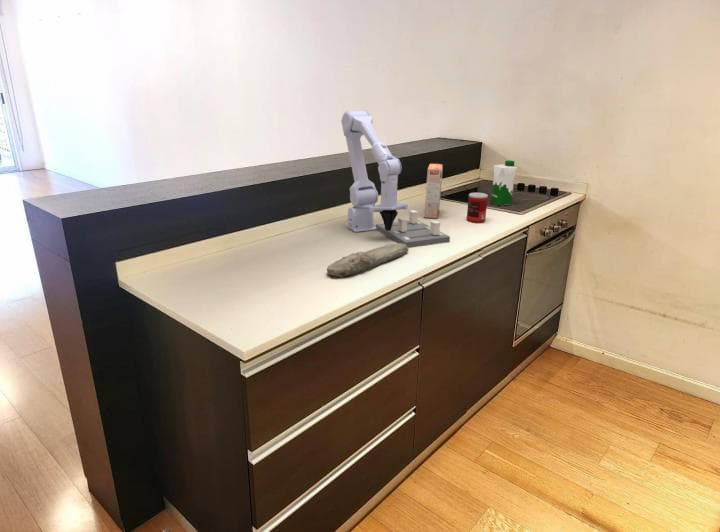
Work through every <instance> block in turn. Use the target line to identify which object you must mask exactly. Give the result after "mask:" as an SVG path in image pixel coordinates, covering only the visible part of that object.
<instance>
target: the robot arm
mask: <svg viewBox="0 0 720 532" xmlns="http://www.w3.org/2000/svg"><path fill="white" fill-rule="evenodd" d="M340 121H341V127H342V130H343V131H342V132H343V136H345V140H346V141H345V142H346V145H347V151H348V155H349V160H350V165H351V170H352V176H353V181H354V182H353V183H352V185H351V186H350V187H349V199H350V204H351V205H352V207H349V208H348V211H347V228H348V229H350V230H351V231H352V232H353V233H358V232H368V231H369V232H370V231H375V230H376V231H378V230H377V228H376V226H374V213H379V214H380V216H381V219H382V222H383V224H384V226H385V230H387V231H391V228H392V224H393V222H395V219H396V217H397V216H398V215H399V214H398V211H400V210H405V211H406V210H408V209H409V207H408V205H409V204H408V203H406V202H403V203H400V202H399V203H398V182H399V181H398V179H399V174H401V173H402V166H403V165H402V163H401V161H400V159H399V158H397V157H396V156H394V155H393V154H392V153H391V151H390V149H389V148H388V146H387V144H386V143H385V142H384V141H381V140H380V138H379V136H378V133H377V132H376V130H375V128H374V125H373V117H372V115H371V113H370V112H369V111H368V110H361V111H360V110H359V111H349V110H348V111H344V113H343V114H342V117H341V120H340ZM362 136H364V137H365V139H366V140H367V142H368V143H369V145H371V149H370V152H371V154H372V155H373V158H374V159H375V161H376V162H377V164H378V166H377V169H378V174H379V180H380V182H381V183H380V184H381V185H380V189H381V191H380V204H377V205H376V203H377V202H378V199H379V193H378V191H377V188H376V186H375V183H374V182H373V181H372V180H370V179H369V178H368V177H369V176H368V170H367V166H366V162H365V157H364V151H363V146H362V142H361V141H362V140H361V138H362Z"/></svg>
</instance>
